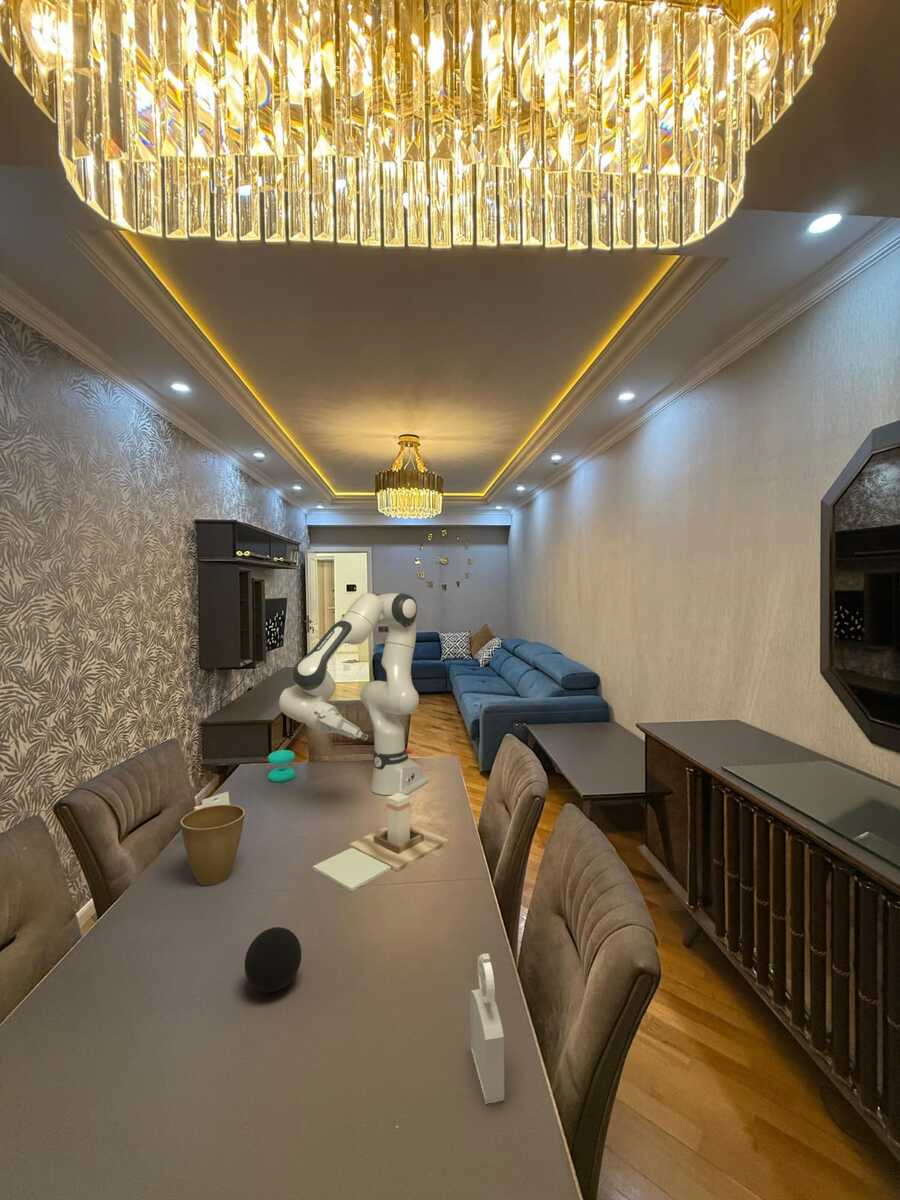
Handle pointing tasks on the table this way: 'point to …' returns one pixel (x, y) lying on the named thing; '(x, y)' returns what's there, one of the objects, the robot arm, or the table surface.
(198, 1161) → the table surface
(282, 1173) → the table surface
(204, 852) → the plant pot
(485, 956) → the grey block with loop
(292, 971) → the decorative ball
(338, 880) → the pad
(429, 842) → the wooden square socket board
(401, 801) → the banded cream pillar
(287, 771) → the donuts
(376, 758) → the robot arm
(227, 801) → the ink cartridge box
